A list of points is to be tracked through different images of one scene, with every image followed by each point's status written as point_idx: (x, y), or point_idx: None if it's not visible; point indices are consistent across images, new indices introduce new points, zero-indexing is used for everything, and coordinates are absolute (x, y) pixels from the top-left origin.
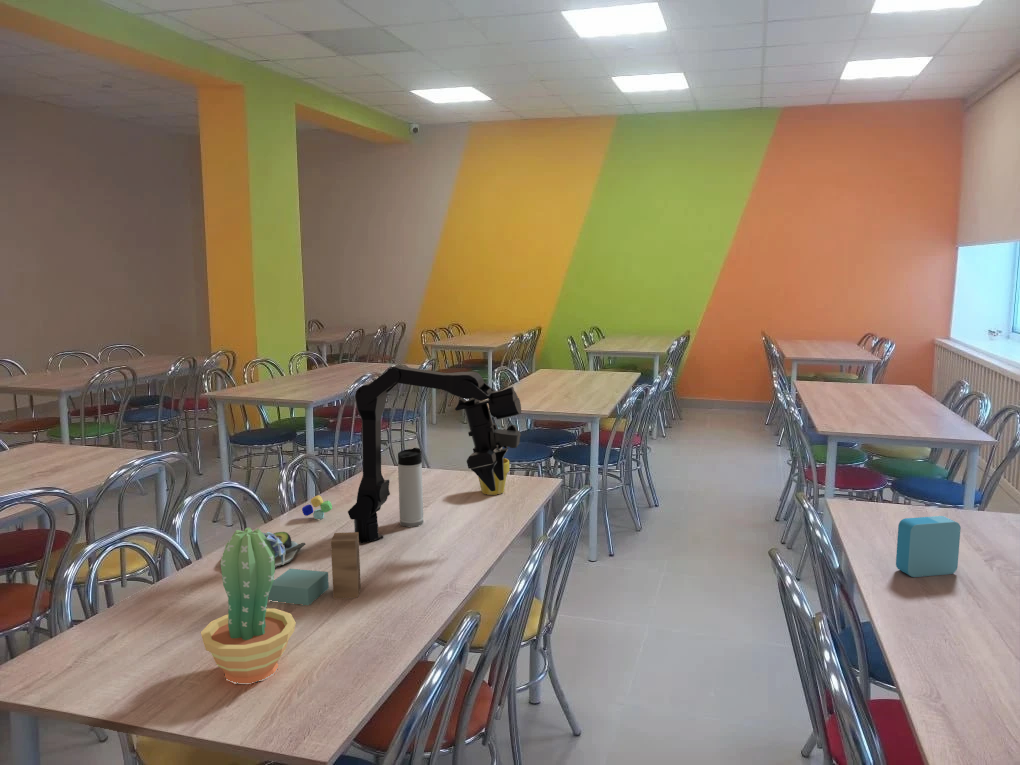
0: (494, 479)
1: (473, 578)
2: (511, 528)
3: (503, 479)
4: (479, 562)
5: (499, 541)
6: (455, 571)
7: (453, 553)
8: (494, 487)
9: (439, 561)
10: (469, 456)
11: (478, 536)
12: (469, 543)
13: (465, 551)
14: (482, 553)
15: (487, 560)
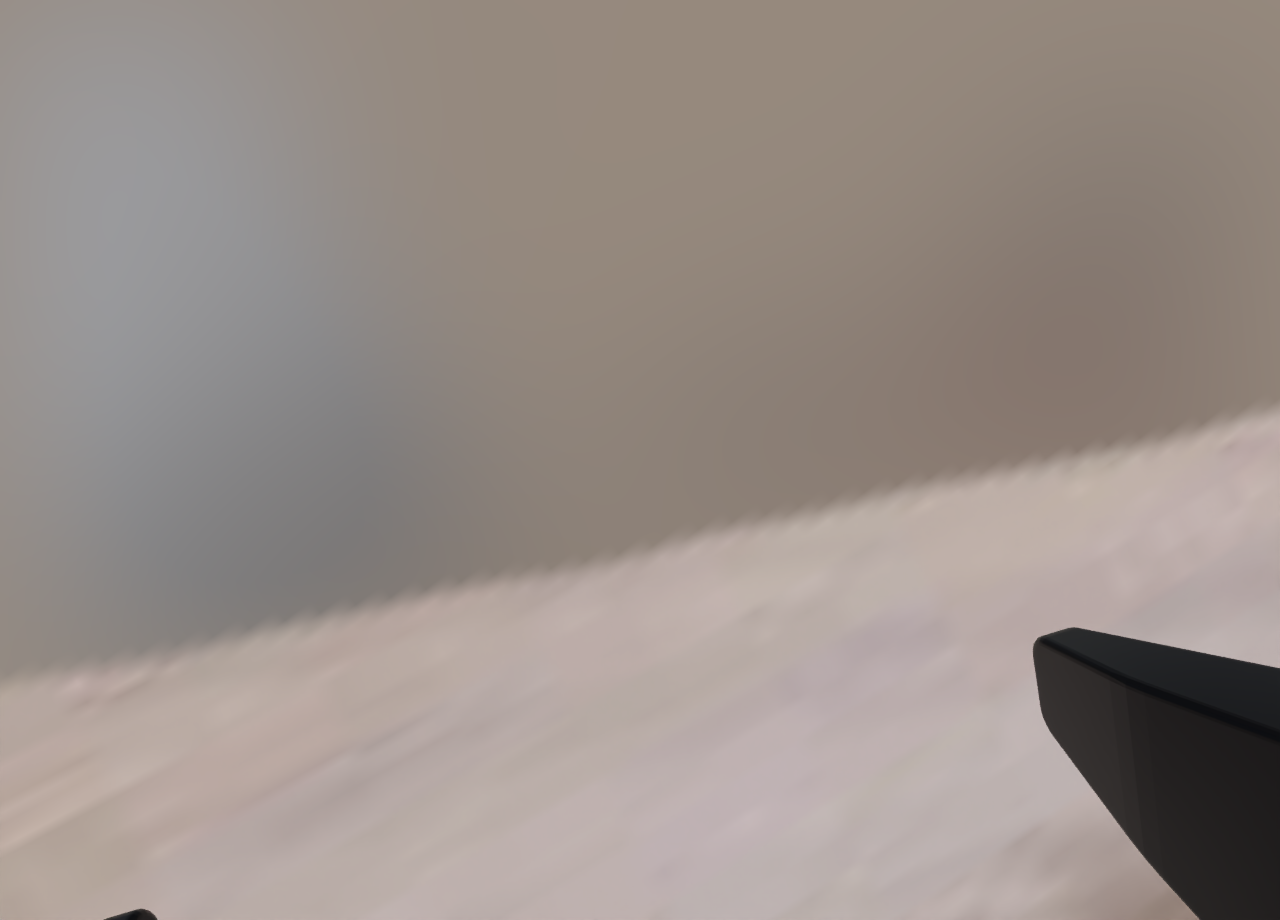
0: (1266, 722)
1: (1272, 438)
2: (100, 717)
3: (138, 911)
4: (981, 558)
5: (475, 647)
6: (1219, 634)
7: (904, 859)
8: (1145, 646)
9: (1103, 863)
10: None
11: (442, 888)
12: (638, 865)
13: (821, 792)
14: (798, 636)
15: (916, 520)
